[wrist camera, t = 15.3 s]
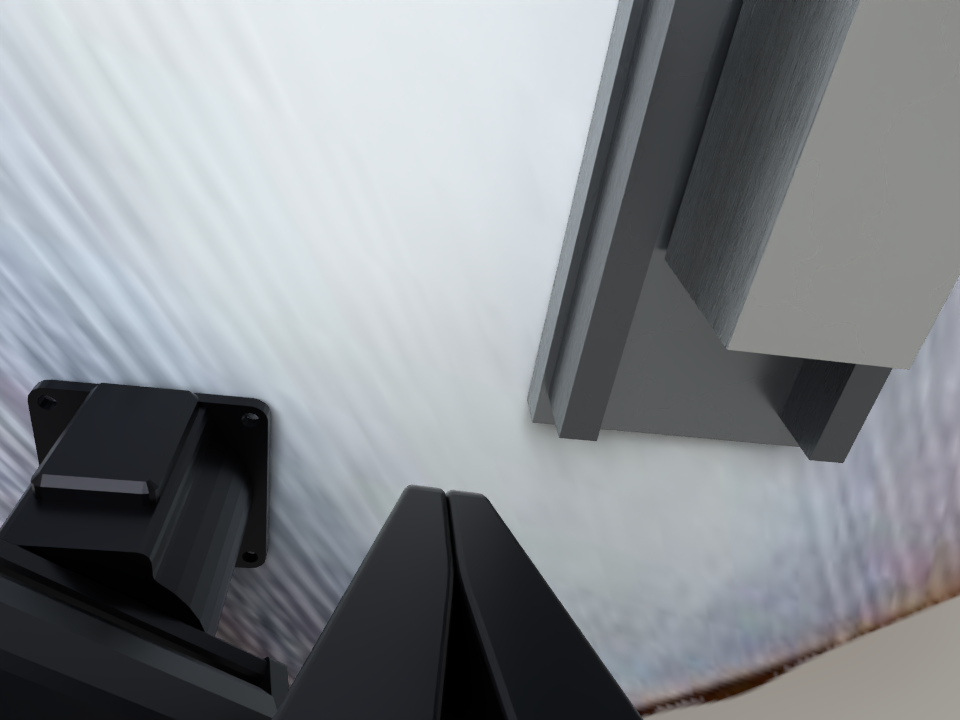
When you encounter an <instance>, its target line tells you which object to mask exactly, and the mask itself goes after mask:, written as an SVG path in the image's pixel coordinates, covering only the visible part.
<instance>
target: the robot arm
mask: <svg viewBox="0 0 960 720" xmlns="http://www.w3.org/2000/svg"><path fill="white" fill-rule="evenodd" d="M44 395H48V396H51V397H52V398H54V399H55V401H56V402H52V401H49V400H48V399H46V398H45V396H44ZM28 405H29V411H30V416H31V422H32V427H33V433H34V438H35V444H36V449H37V455H38V460H39V467H38V469H37V470H36V472H35V473H34V475H33V476H32V479H31V484H30V485H29V487H28V488H27V490H26V491H25V493H24V494H23V496H22V497H21V499H20V500H19V502H18V503H17V504H16V506H15V507H14V509H13V510H12V512H11V513H10V515H9V516H8V518H7V519H6V521H5V522H4V524H3V525H2V527H1V528H0V720H643V719H642V717H641V716H640V714H639V713H638V712H637V710H636V709H635V707H634V706H633V705H632V703H631V702H630V700H629V699H628V697H627V696H626V695H625V693H624V692H623V690H622V689H621V688H620V686H619V685H618V683H617V682H616V680H615V679H614V678H613V676H612V675H611V673H610V672H609V670H608V669H607V668H606V666H605V665H604V663H603V662H602V661H601V659H600V658H599V656H598V655H597V653H596V652H595V651H594V649H593V648H592V646H591V645H590V643H589V642H588V641H587V639H586V638H585V636H584V635H583V634H582V632H581V631H580V629H579V628H578V626H577V625H576V624H575V622H574V621H573V619H572V618H571V616H570V615H569V614H568V612H567V611H566V609H565V608H564V607H563V605H562V604H561V602H560V601H559V599H558V598H557V597H556V595H555V594H554V592H553V591H552V589H551V588H550V587H549V585H548V584H547V582H546V581H545V580H544V578H543V577H542V575H541V574H540V572H539V571H538V570H537V568H536V567H535V565H534V564H533V563H532V561H531V560H530V558H529V557H528V555H527V554H526V553H525V551H524V550H523V548H522V547H521V545H520V544H519V543H518V541H517V540H516V538H515V537H514V536H513V534H512V533H511V531H510V530H509V528H508V527H507V526H506V524H505V523H504V521H503V520H502V518H501V517H500V516H499V514H498V513H497V511H496V510H495V509H494V507H493V506H492V504H491V503H490V501H489V500H488V499H487V498H486V497H485V496H484V495H482V494H479V493H472V492H464V491H456V490H450V491H448V492H447V493H446V494H445V492H444V491H443V490H442V489H439V488H433V487H425V486H417V485H409V486H407V487H406V488H405V489H404V491H403V493H402V494H401V496H400V498H399V500H398V501H397V503H396V505H395V506H394V508H393V510H392V512H391V513H390V515H389V517H388V519H387V520H386V522H385V524H384V526H383V527H382V529H381V531H380V533H379V534H378V536H377V538H376V540H375V541H374V543H373V545H372V546H371V548H370V550H369V552H368V553H367V555H366V557H365V559H364V560H363V562H362V564H361V566H360V567H359V569H358V571H357V573H356V574H355V576H354V578H353V580H352V581H351V583H350V585H349V587H348V588H347V590H346V592H345V593H344V595H343V597H342V599H341V600H340V602H339V604H338V606H337V607H336V609H335V611H334V613H333V614H332V616H331V618H330V620H329V621H328V623H327V625H326V627H325V628H324V630H323V632H322V633H321V635H320V637H319V639H318V640H317V642H316V644H315V646H314V647H313V649H312V651H311V653H310V654H309V656H308V658H307V660H306V661H305V663H304V665H303V667H302V668H301V670H300V672H299V673H298V675H297V677H296V679H295V680H294V682H293V684H292V686H291V687H290V689H289V686H288V675H287V666H286V665H285V664H282V663H280V662H278V661H276V660H274V659H272V658H269V657H266V658H265V659H262V658H260V657H258V656H255V655H253V654H251V653H249V652H247V651H245V650H242V649H240V648H238V647H236V646H234V645H232V644H229V643H227V642H225V641H223V640H221V639H219V638H216V637H215V634H216V631H217V627H218V624H219V620H220V617H221V613H222V610H223V606H224V603H225V599H226V595H227V592H228V588H229V585H230V581H231V578H232V574H233V571H234V567H243V568H256V567H258V566H261V565H262V564H263V563H264V562H265V559H266V555H267V551H268V525H269V475H270V424H271V413H270V409H269V407H268V406H267V405H266V403H264V402H262V401H261V400H258V399H254V398H244V397H234V396H223V395H212V394H201V393H192V392H190V391H184V390H173V389H162V388H151V387H140V386H129V385H118V384H107V383H101V384H91V383H80V382H69V381H58V380H43V381H41V382H39V383H38V384H37V385H36V386H35V387H34V388H33V390H32V391H31V392H30V394H29V395H28ZM247 413H252V414H255V415H256V416H258V417H259V418H258V419H254V420H253V419H250V418H248V417H247V416H246V415H245V414H247ZM248 551H251V552H254V554H252V553H248Z"/></svg>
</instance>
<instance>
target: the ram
mask: <svg viewBox="0 0 960 720" xmlns="http://www.w3.org/2000/svg"><path fill="white" fill-rule="evenodd" d="M664 259H665V261H666V262H667V263H668V265H669V266H670V268H671V269H672V271H673V272H674V274H675V275H676V276H677V278H678V279H679V281H680V282H681V284H682V285H683V287H684V288H685V289H686V291H687V292H688V294H689V295H690V297H691V298H692V300H693V301H694V302H695V304H696V305H697V307H698V308H699V310H700V311H701V312H702V314H703V315H704V317H705V318H706V320H707V321H708V323H709V324H710V325H711V327H712V328H713V330H714V331H715V333H716V334H717V336H718V337H719V338H720V340H721V341H722V343H723V344H724V346H725V347H726V349H727V350H735V351H744V352H753V353H762V354H771V355H781V356H790V357H799V358H808V359H817V360H826V361H835V362H845V363H854V364H863V365H872V366H881V367H890V368H899V369H908V370H909V369H910V367H911V365H912V363H913V361H914V359H915V357H916V356H917V354H918V352H919V350H920V348H921V346H922V344H923V342H924V341H925V339H926V337H927V335H928V333H929V331H930V329H931V327H932V326H933V324H934V322H935V320H936V318H937V316H938V314H939V312H940V311H941V309H942V307H943V305H944V303H945V301H946V299H947V297H948V295H949V294H950V292H951V290H952V288H953V286H954V284H955V282H956V280H957V279H958V277H959V275H960V0H744V2H743V5H742V8H741V12H740V15H739V18H738V21H737V25H736V28H735V31H734V34H733V38H732V41H731V44H730V47H729V51H728V54H727V57H726V60H725V63H724V67H723V70H722V73H721V76H720V80H719V83H718V86H717V89H716V93H715V96H714V99H713V102H712V106H711V109H710V112H709V115H708V119H707V122H706V125H705V128H704V132H703V135H702V138H701V141H700V145H699V148H698V151H697V154H696V158H695V161H694V164H693V167H692V171H691V174H690V177H689V180H688V184H687V187H686V190H685V193H684V197H683V200H682V203H681V206H680V209H679V213H678V216H677V219H676V222H675V226H674V229H673V232H672V235H671V239H670V242H669V245H668V248H667V252H666V255H665V258H664Z"/></svg>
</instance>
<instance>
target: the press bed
mask: <svg viewBox="0 0 960 720" xmlns="http://www.w3.org/2000/svg"><path fill="white" fill-rule="evenodd" d="M743 2H744V0H619V4H618V9H617V13H616V17H615V22H614V26H613V30H612V35H611V39H610V43H609V48H608V52H607V56H606V61H605V65H604V69H603V74H602V78H601V82H600V87H599V91H598V95H597V100H596V104H595V108H594V113H593V117H592V121H591V126H590V130H589V134H588V139H587V143H586V147H585V152H584V156H583V160H582V165H581V169H580V173H579V177H578V182H577V186H576V190H575V195H574V199H573V203H572V208H571V212H570V216H569V221H568V225H567V229H566V234H565V238H564V242H563V247H562V251H561V255H560V260H559V264H558V268H557V273H556V277H555V281H554V286H553V290H552V294H551V299H550V303H549V307H548V312H547V316H546V320H545V325H544V329H543V333H542V338H541V342H540V346H539V351H538V355H537V359H536V364H535V368H534V372H533V377H532V381H531V385H530V390H529V394H528V398H527V400H528V404H529V409H530V414H531V418H532V422H533V423H544V424H555V425H556V427H557V431H558V435H559V438H568V439H579V440H590V441H597V438H598V434H599V431H600V429H610V430H621V431H631V432H642V433H653V434H664V435H675V436H686V437H697V438H708V439H719V440H730V441H741V442H752V443H763V444H774V445H785V446H795V447H801V449H802V450H803V452H804V453H805V454H806V456H807V457H808V459H809V460H815V461H826V462H838V463H843V462H844V460H845V459H846V457H847V455H848V453H849V451H850V449H851V447H852V445H853V443H854V441H855V439H856V437H857V435H858V433H859V432H860V430H861V428H862V426H863V424H864V422H865V420H866V418H867V416H868V414H869V412H870V410H871V408H872V406H873V405H874V403H875V401H876V399H877V397H878V395H879V393H880V391H881V389H882V387H883V385H884V383H885V381H886V379H887V378H888V376H889V374H890V372H891V370H892V368H890V367H881V366H872V365H863V364H854V363H845V362H835V361H826V360H817V359H808V358H799V357H790V356H781V355H771V354H762V353H753V352H744V351H735V350H727V349H726V347H725V346H724V344H723V343H722V341H721V340H720V338H719V337H718V336H717V334H716V333H715V331H714V330H713V328H712V327H711V325H710V324H709V323H708V321H707V320H706V318H705V317H704V315H703V314H702V312H701V311H700V310H699V308H698V307H697V305H696V304H695V302H694V301H693V300H692V298H691V297H690V295H689V294H688V292H687V291H686V289H685V288H684V287H683V285H682V284H681V282H680V281H679V279H678V278H677V276H676V275H675V274H674V272H673V271H672V269H671V268H670V266H669V265H668V263H667V262H666V261H665V259H664V258H665V255H666V252H667V248H668V245H669V242H670V239H671V235H672V232H673V229H674V226H675V222H676V219H677V216H678V213H679V209H680V206H681V203H682V200H683V197H684V193H685V190H686V187H687V184H688V180H689V177H690V174H691V171H692V167H693V164H694V161H695V158H696V154H697V151H698V148H699V145H700V141H701V138H702V135H703V132H704V128H705V125H706V122H707V119H708V115H709V112H710V109H711V106H712V102H713V99H714V96H715V93H716V89H717V86H718V83H719V80H720V76H721V73H722V70H723V67H724V63H725V60H726V57H727V54H728V51H729V47H730V44H731V41H732V38H733V34H734V31H735V28H736V25H737V21H738V18H739V15H740V12H741V8H742V5H743Z"/></svg>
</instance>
